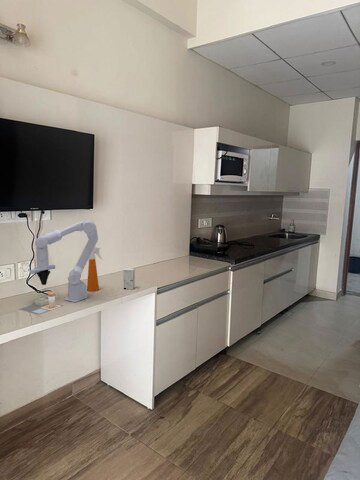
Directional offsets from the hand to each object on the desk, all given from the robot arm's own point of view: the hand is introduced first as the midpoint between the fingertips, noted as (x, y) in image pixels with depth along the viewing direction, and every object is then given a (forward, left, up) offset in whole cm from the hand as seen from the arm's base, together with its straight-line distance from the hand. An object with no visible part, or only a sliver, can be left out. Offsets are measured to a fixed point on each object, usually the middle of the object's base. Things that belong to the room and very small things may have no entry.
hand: (43, 284), depth 182 cm
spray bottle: (-30, +9, -10) cm, 32 cm away
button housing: (+3, +2, -9) cm, 10 cm away
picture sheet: (+7, +7, -9) cm, 14 cm away
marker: (+4, +11, -9) cm, 15 cm away
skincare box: (-43, +24, -10) cm, 50 cm away
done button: (+3, +2, -8) cm, 9 cm away
